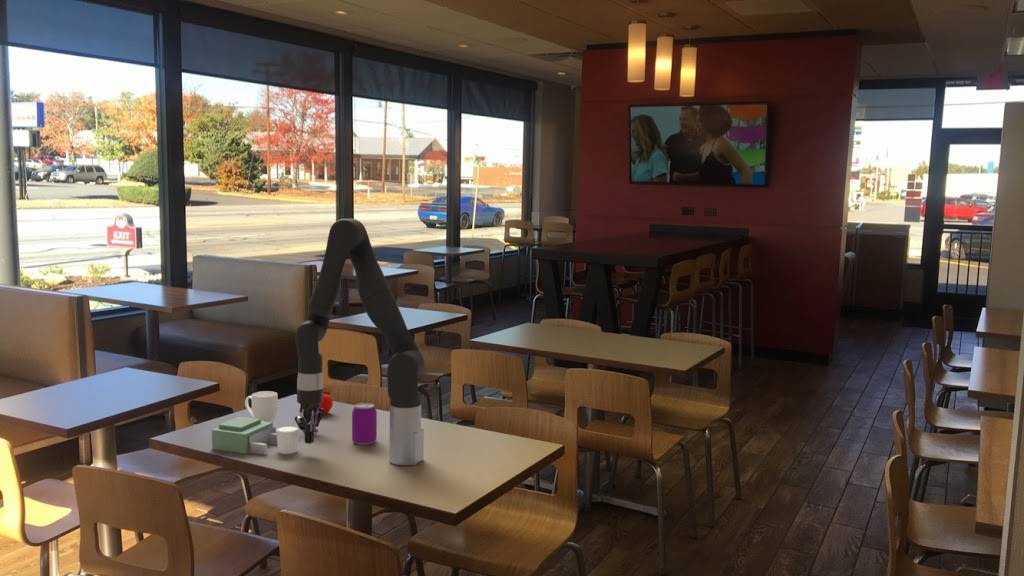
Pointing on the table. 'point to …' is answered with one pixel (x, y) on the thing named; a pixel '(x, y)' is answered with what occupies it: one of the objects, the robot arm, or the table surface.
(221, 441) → the green drawer box
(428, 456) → the table surface
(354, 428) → the beverage can
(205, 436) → the table surface
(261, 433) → the chute bracket
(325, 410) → the apple
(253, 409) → the mug
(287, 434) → the white cup
